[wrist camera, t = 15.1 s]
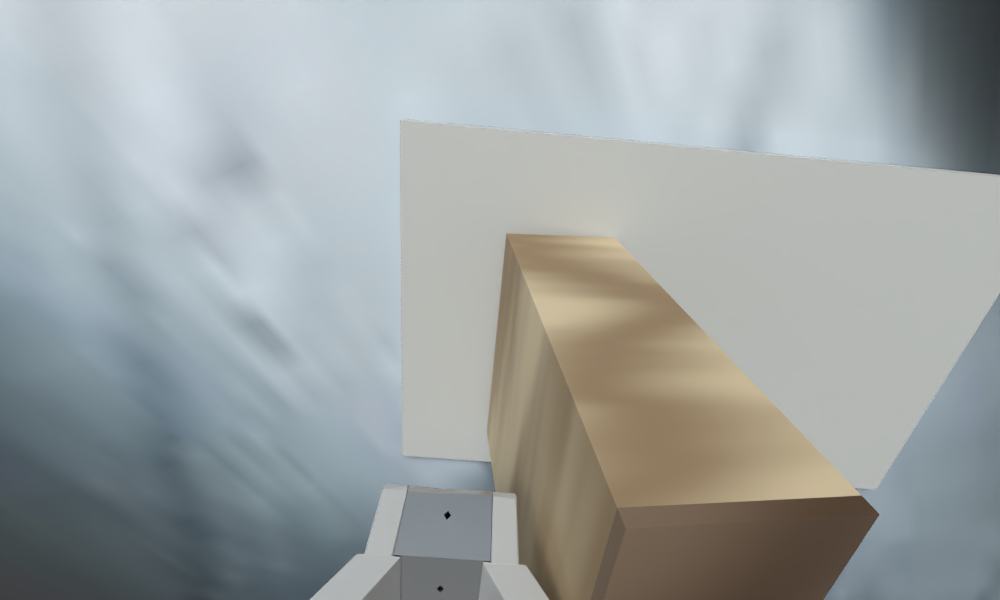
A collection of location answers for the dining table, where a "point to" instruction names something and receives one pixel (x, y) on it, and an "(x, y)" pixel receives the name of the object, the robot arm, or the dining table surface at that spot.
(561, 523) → the oak slab
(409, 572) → the robot arm
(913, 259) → the felt mat
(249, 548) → the dining table surface
